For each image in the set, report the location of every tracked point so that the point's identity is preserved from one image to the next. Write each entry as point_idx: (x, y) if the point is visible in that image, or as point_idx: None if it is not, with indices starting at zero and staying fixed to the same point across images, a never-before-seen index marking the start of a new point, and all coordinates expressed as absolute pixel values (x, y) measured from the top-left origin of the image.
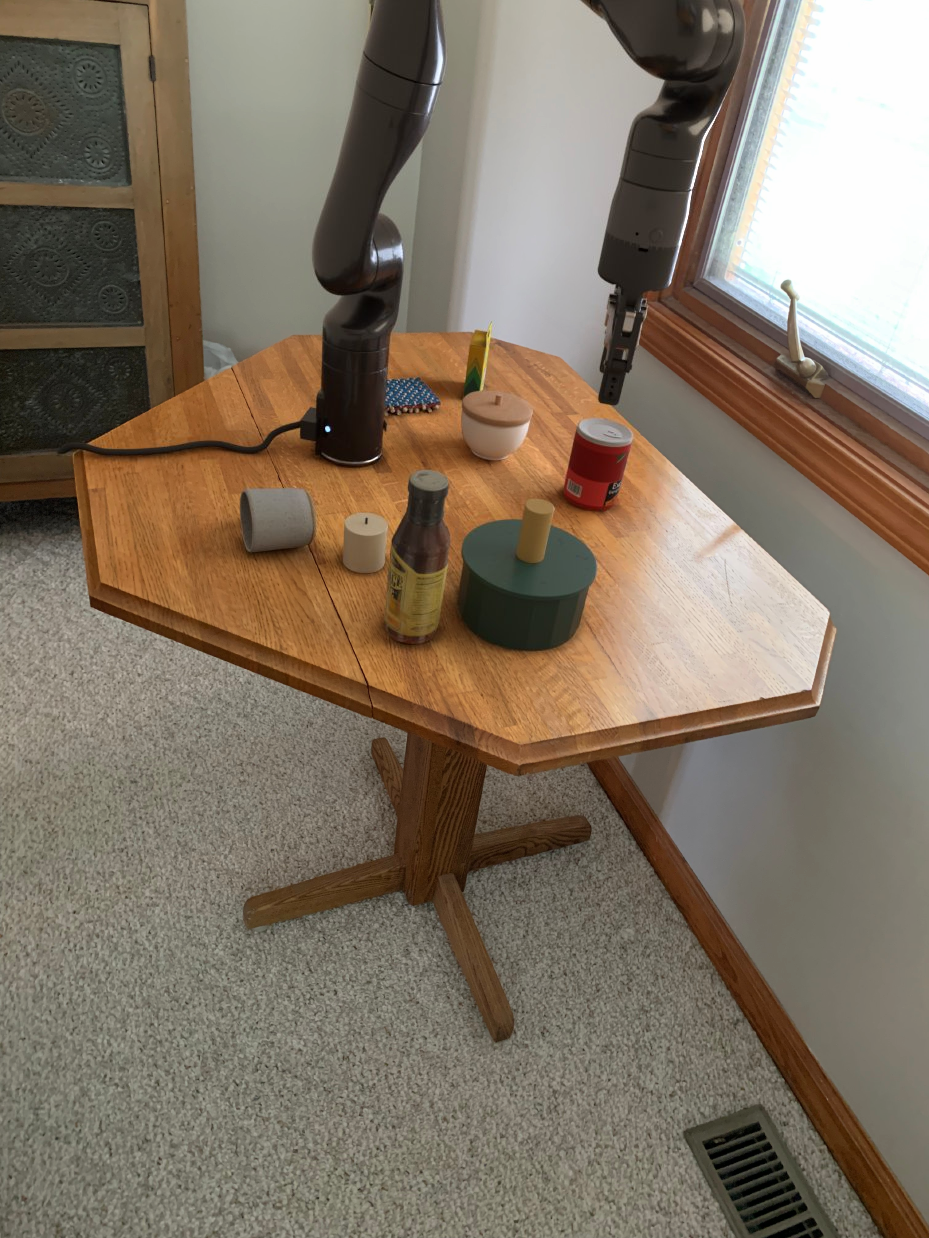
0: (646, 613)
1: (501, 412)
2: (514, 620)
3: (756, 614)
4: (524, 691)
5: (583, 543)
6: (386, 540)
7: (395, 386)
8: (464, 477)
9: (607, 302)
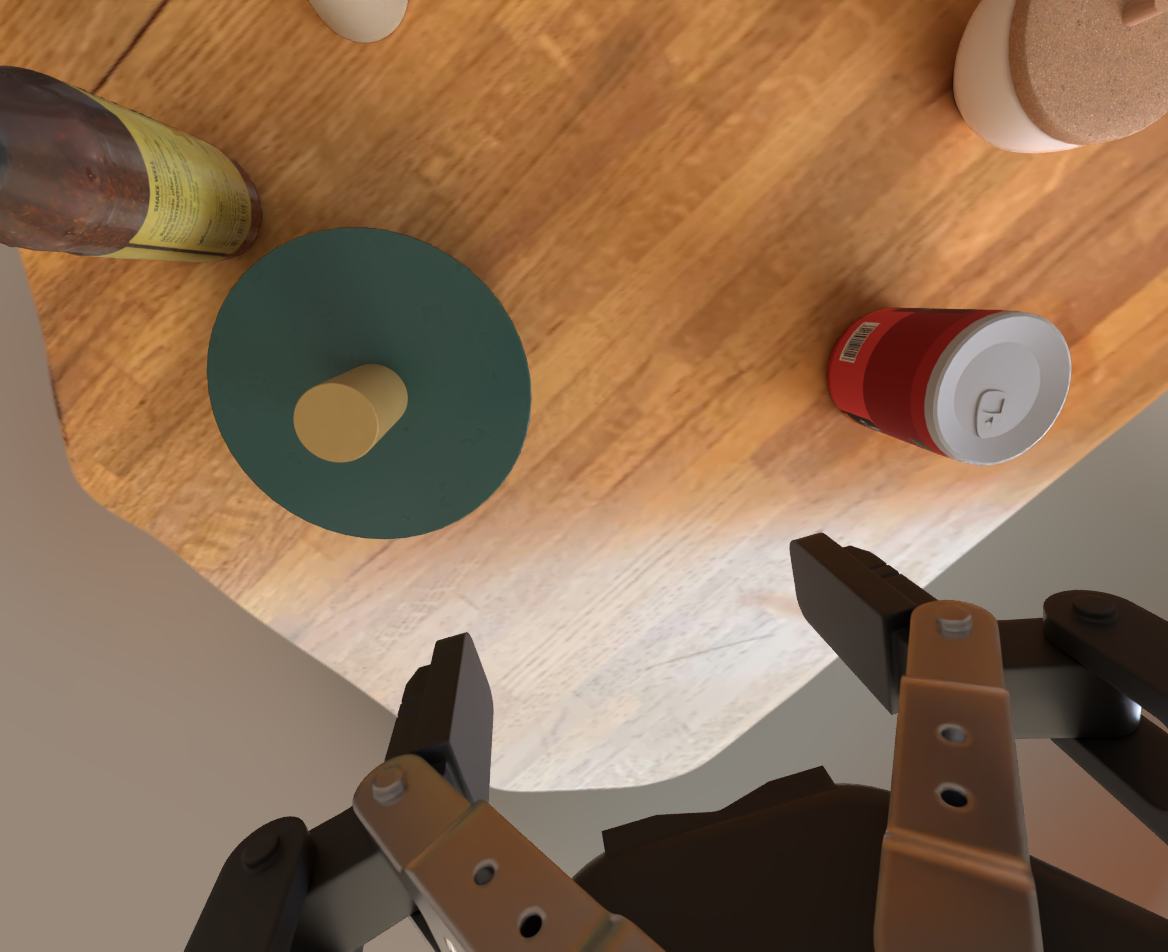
0: (539, 567)
1: (1077, 48)
2: None
3: (636, 704)
4: (203, 461)
5: (499, 481)
6: (361, 9)
7: None
8: (843, 62)
9: (961, 885)
